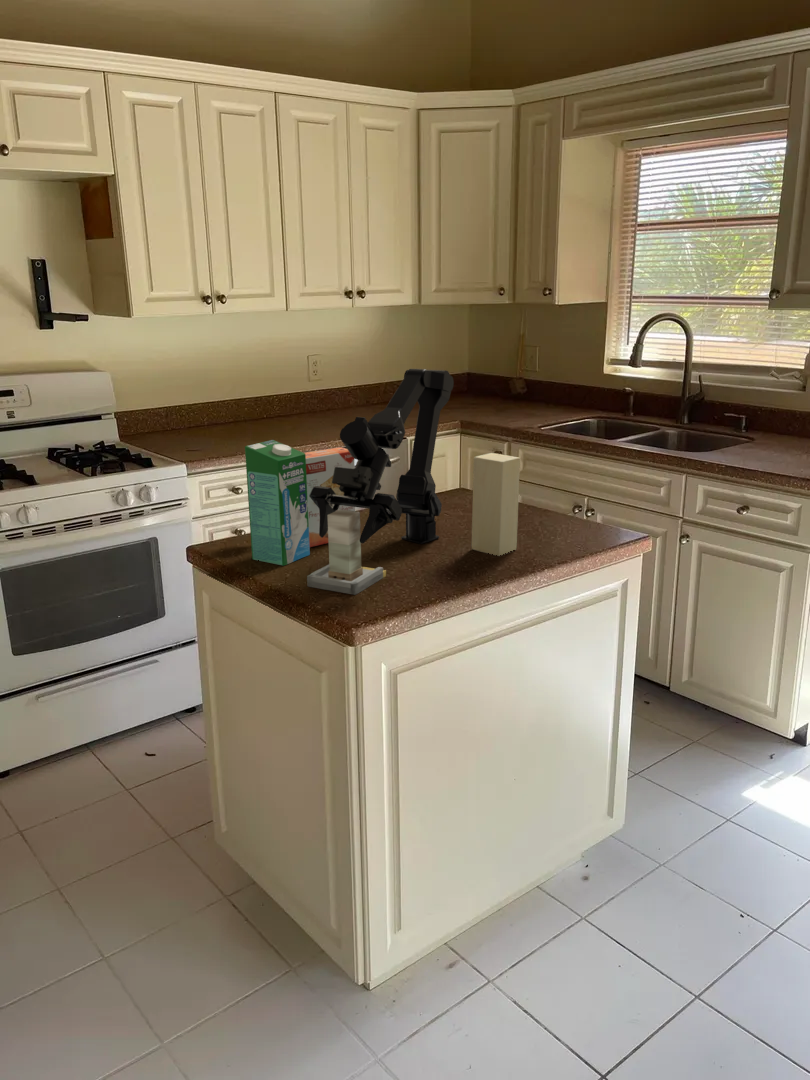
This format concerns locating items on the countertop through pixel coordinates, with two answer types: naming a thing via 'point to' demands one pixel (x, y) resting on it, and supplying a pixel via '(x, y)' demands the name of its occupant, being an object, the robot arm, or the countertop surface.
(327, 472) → the cracker box
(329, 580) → the pad
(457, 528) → the countertop surface
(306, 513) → the milk carton
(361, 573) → the pale banded rectangular block
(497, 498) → the tall cream block
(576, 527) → the countertop surface
